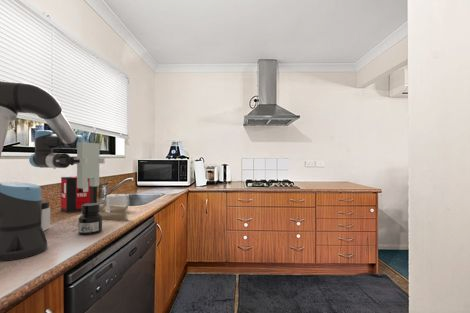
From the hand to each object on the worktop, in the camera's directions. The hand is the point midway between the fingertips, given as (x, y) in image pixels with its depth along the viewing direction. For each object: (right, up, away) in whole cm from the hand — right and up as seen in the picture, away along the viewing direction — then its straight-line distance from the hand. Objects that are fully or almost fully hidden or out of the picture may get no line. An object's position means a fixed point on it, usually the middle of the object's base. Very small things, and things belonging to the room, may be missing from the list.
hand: (95, 161), depth 126 cm
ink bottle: (+7, -30, -17) cm, 36 cm away
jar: (-18, -30, -14) cm, 38 cm away
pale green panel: (-4, -13, +1) cm, 14 cm away
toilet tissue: (0, -30, +22) cm, 37 cm away
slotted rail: (+3, -30, +6) cm, 31 cm away
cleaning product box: (-26, -30, +29) cm, 49 cm away
